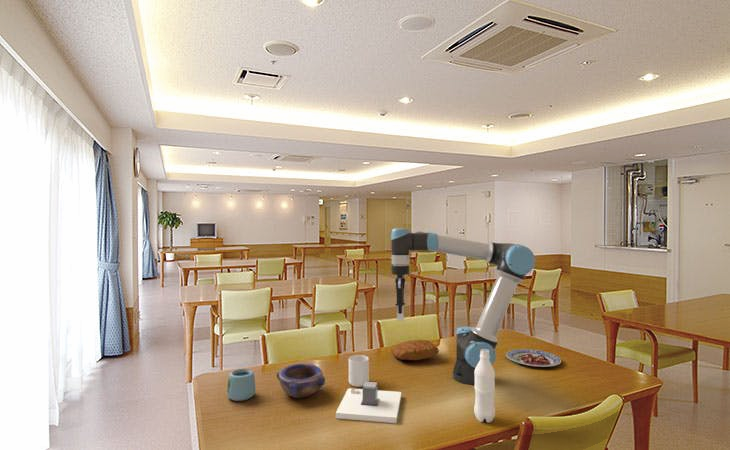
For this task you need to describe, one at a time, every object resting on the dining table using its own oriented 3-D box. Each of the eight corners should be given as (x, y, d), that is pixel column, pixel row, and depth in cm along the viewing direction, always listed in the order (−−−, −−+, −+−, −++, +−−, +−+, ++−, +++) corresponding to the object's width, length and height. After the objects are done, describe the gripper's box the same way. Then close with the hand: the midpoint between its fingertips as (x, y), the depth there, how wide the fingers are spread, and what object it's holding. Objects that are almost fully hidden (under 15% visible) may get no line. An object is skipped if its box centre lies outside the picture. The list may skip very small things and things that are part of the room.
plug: (377, 404, 160) (377, 382, 160) (375, 410, 155) (375, 387, 155) (364, 403, 161) (364, 381, 161) (362, 409, 156) (362, 386, 156)
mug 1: (225, 390, 174) (225, 366, 173) (252, 386, 178) (252, 363, 178) (228, 404, 160) (228, 379, 160) (257, 400, 164) (257, 375, 164)
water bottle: (471, 415, 151) (471, 347, 151) (490, 414, 152) (490, 346, 152) (478, 424, 144) (478, 353, 144) (498, 424, 145) (498, 353, 144)
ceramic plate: (564, 358, 214) (564, 353, 214) (557, 374, 192) (557, 368, 192) (512, 350, 228) (512, 344, 228) (501, 364, 206) (501, 358, 206)
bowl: (286, 407, 158) (286, 381, 158) (273, 390, 174) (273, 366, 174) (329, 398, 166) (329, 373, 166) (313, 382, 182) (313, 359, 182)
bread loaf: (427, 352, 224) (427, 337, 224) (440, 362, 208) (440, 346, 208) (388, 355, 219) (388, 340, 218) (399, 366, 202) (399, 350, 202)
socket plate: (401, 396, 167) (401, 389, 167) (396, 423, 145) (396, 414, 145) (348, 393, 171) (348, 385, 171) (335, 418, 149) (335, 409, 149)
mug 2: (370, 387, 177) (370, 361, 177) (350, 388, 175) (350, 362, 175) (365, 376, 189) (365, 352, 189) (346, 377, 187) (346, 353, 187)
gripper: (392, 263, 180) (392, 316, 181) (389, 266, 167) (389, 324, 168) (410, 263, 179) (410, 317, 179) (408, 266, 166) (408, 324, 167)
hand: (400, 320), depth 174 cm, fingers closed
